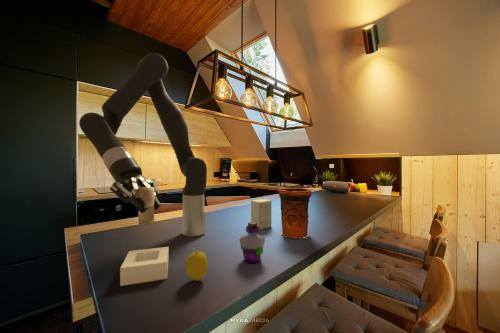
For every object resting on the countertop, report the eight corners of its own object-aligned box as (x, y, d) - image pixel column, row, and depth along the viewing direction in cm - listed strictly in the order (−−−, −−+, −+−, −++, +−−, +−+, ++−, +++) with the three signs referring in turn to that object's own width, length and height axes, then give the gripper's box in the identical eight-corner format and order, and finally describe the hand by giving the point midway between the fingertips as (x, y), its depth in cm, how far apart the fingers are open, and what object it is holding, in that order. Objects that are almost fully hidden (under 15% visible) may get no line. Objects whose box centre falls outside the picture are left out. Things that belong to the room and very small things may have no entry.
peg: (154, 220, 63) (154, 186, 63) (153, 224, 59) (153, 188, 59) (139, 221, 62) (139, 187, 62) (137, 225, 58) (137, 188, 58)
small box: (263, 224, 109) (263, 198, 109) (271, 227, 104) (272, 200, 104) (250, 226, 105) (250, 200, 104) (258, 230, 99) (259, 202, 99)
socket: (168, 260, 68) (168, 246, 68) (167, 278, 57) (167, 261, 57) (129, 265, 64) (129, 251, 64) (120, 285, 54) (120, 268, 54)
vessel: (273, 237, 90) (274, 189, 90) (281, 228, 103) (282, 186, 104) (308, 242, 85) (309, 191, 85) (312, 232, 98) (313, 188, 98)
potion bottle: (257, 269, 63) (257, 228, 63) (233, 261, 68) (233, 223, 67) (270, 258, 70) (270, 221, 70) (248, 252, 75) (248, 218, 75)
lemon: (188, 275, 59) (188, 246, 59) (208, 274, 60) (209, 246, 59) (184, 287, 54) (184, 255, 53) (206, 286, 54) (206, 254, 54)
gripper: (103, 155, 57) (136, 205, 52) (148, 157, 70) (177, 197, 65) (91, 175, 59) (121, 224, 54) (136, 173, 72) (164, 212, 67)
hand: (151, 209), depth 60 cm, fingers closed on peg, 4 cm apart
